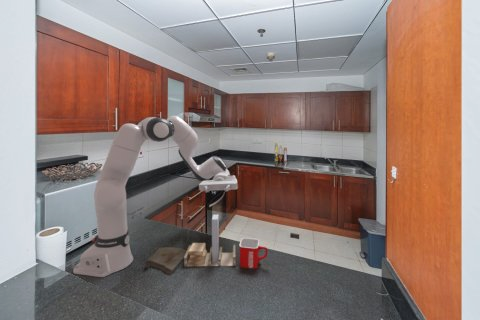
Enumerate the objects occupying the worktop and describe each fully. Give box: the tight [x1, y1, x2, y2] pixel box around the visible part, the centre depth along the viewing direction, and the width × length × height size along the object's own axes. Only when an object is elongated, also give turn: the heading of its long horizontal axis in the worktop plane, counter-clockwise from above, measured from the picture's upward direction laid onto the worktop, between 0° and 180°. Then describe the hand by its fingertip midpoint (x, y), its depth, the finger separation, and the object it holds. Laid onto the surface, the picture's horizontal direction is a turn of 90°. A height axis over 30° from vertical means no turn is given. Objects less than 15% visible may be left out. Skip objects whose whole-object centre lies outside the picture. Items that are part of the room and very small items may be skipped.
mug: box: [239, 237, 268, 269], centre depth 91 cm, size 12×8×11 cm
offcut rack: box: [183, 244, 236, 267], centre depth 94 cm, size 22×10×6 cm, turn 92°
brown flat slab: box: [145, 246, 187, 276], centre depth 92 cm, size 17×15×4 cm
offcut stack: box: [188, 242, 208, 265], centre depth 93 cm, size 7×8×6 cm
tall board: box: [211, 214, 220, 263], centre depth 93 cm, size 2×6×20 cm, turn 2°
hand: (216, 190), depth 101 cm, fingers open, 8 cm apart
